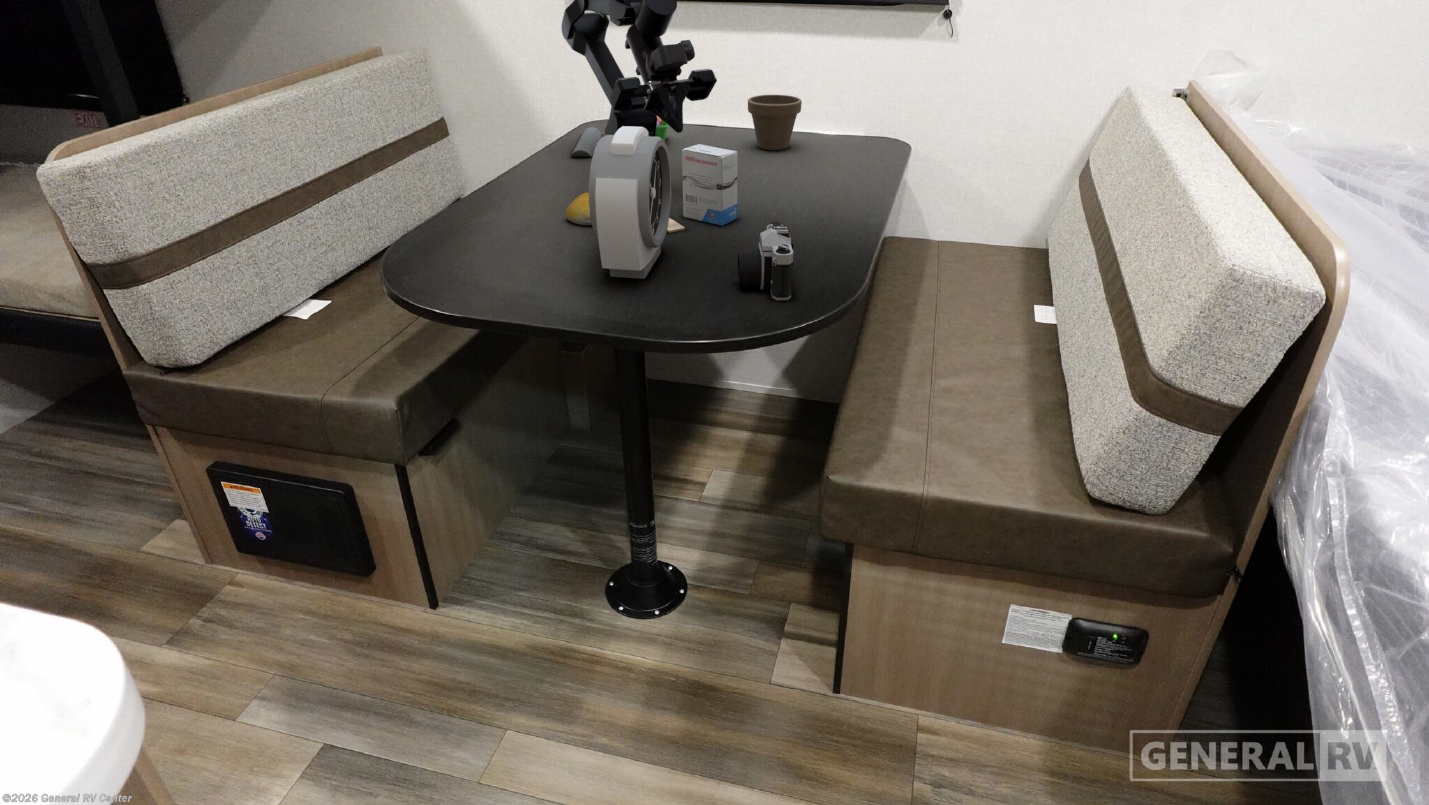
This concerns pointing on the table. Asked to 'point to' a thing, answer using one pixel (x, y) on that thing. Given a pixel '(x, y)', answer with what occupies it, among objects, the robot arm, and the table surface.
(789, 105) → the flower pot
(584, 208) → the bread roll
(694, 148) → the ink box
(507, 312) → the table surface
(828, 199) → the table surface
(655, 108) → the robot arm
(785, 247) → the camera
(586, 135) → the half round rod
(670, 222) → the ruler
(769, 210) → the table surface
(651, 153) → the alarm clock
